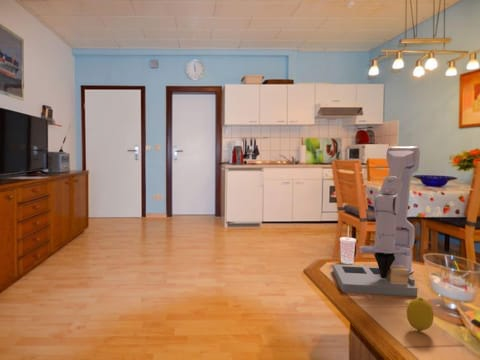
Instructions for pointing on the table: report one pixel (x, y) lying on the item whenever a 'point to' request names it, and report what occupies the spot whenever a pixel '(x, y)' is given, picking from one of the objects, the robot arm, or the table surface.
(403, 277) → the block
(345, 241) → the beverage cup
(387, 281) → the platform
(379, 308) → the table surface
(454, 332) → the table surface
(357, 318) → the table surface
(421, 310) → the lemon
